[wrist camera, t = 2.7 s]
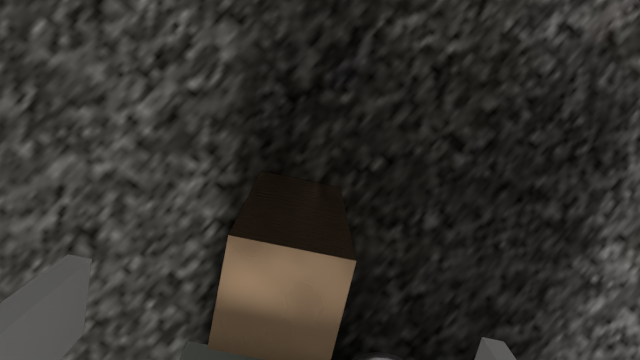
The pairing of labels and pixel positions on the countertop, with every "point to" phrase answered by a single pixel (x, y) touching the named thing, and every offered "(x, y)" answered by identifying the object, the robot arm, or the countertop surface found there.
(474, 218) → the countertop surface
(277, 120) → the countertop surface
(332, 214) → the block
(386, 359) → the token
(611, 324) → the countertop surface
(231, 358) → the cabinet
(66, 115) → the countertop surface
